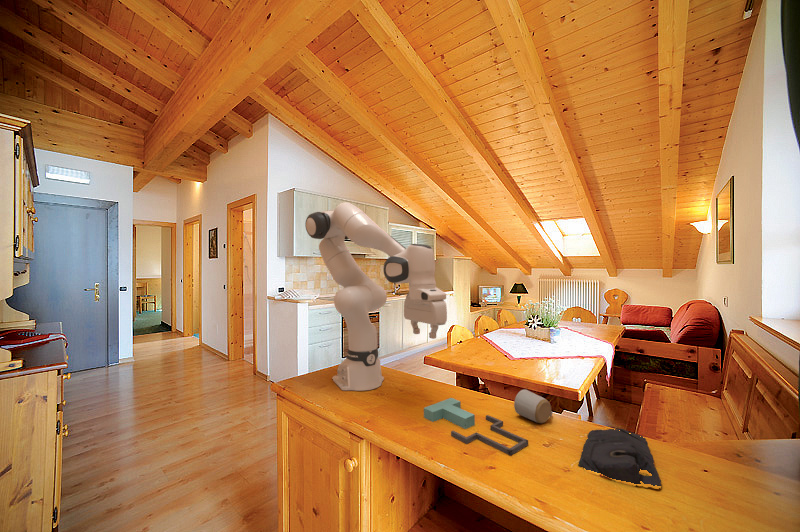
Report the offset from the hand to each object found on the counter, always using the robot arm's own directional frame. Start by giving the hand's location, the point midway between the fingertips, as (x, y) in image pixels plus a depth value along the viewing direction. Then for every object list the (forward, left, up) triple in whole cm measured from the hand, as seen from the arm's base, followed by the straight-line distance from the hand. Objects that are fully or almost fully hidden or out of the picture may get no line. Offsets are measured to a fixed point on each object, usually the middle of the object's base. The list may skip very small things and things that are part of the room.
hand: (424, 336), depth 110 cm
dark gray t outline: (+25, +1, -23) cm, 34 cm away
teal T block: (+11, +1, -23) cm, 26 cm away
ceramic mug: (+26, +20, -24) cm, 41 cm away
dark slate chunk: (+50, +16, -24) cm, 58 cm away
